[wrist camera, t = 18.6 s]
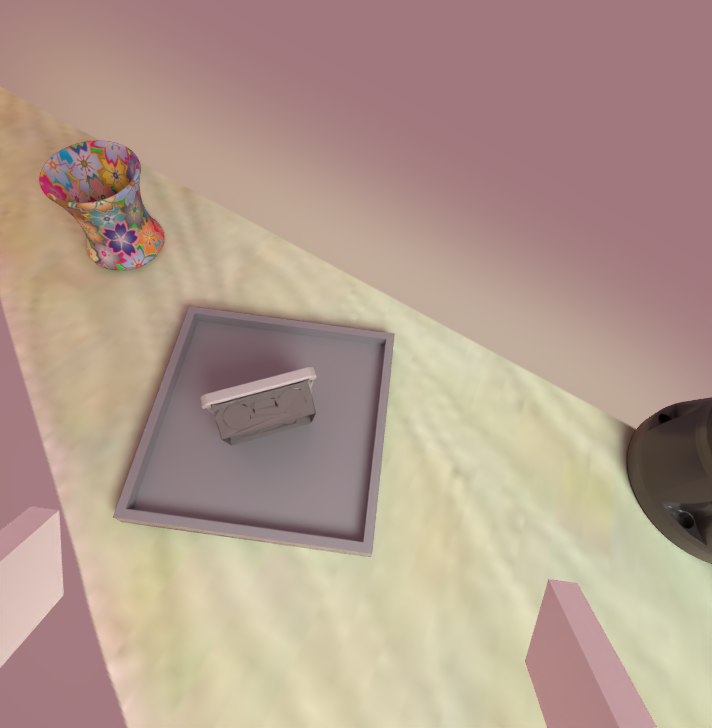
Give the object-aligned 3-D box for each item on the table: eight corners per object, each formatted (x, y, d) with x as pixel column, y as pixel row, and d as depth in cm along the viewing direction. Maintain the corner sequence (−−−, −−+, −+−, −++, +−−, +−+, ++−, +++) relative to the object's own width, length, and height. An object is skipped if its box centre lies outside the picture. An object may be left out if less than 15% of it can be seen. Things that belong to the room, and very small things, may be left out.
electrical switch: (309, 386, 48) (308, 346, 39) (324, 435, 46) (326, 404, 38) (215, 412, 46) (192, 376, 38) (226, 464, 44) (205, 438, 36)
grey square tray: (392, 343, 52) (394, 333, 50) (370, 556, 41) (371, 553, 39) (193, 316, 52) (189, 306, 50) (121, 522, 41) (112, 517, 40)
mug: (186, 247, 57) (158, 173, 47) (116, 291, 53) (72, 220, 44) (127, 194, 60) (91, 115, 51) (58, 232, 57) (5, 154, 47)
